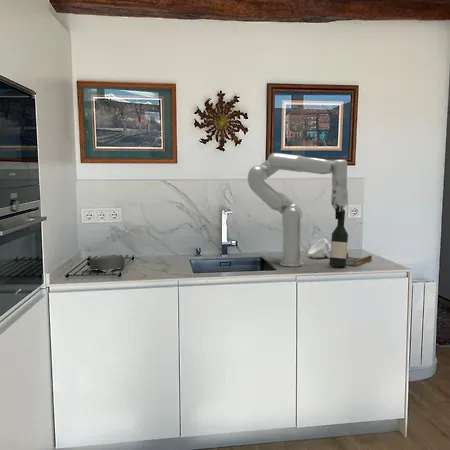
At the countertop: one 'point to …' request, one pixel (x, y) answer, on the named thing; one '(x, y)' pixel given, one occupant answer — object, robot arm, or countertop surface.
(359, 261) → the cradle
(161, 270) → the countertop surface
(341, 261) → the wine bottle
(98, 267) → the grey rounded piece
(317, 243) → the skull bowl
